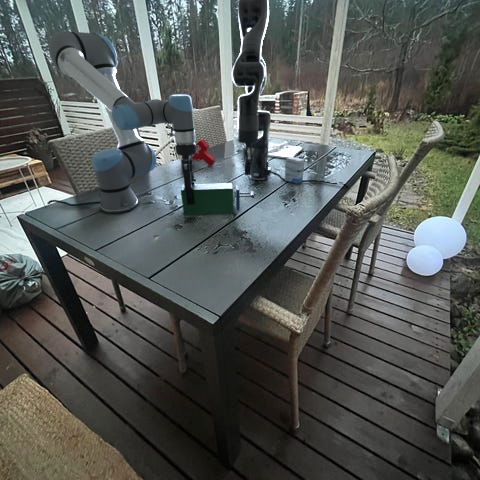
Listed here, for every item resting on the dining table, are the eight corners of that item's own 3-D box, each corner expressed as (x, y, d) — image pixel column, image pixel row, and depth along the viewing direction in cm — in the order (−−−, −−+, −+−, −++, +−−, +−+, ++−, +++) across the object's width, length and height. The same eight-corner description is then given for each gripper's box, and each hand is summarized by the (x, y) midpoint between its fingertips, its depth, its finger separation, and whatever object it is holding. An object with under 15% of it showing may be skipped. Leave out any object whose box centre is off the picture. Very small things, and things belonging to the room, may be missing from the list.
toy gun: (219, 159, 165) (203, 138, 161) (216, 161, 162) (200, 139, 158) (199, 174, 175) (184, 155, 171) (196, 176, 172) (181, 156, 168)
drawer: (253, 205, 117) (253, 185, 112) (254, 210, 113) (254, 189, 108) (194, 207, 116) (191, 186, 111) (193, 212, 112) (190, 191, 107)
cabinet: (232, 207, 118) (232, 182, 112) (233, 213, 113) (232, 188, 107) (185, 208, 117) (182, 184, 111) (183, 215, 112) (180, 190, 106)
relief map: (291, 159, 177) (291, 151, 174) (243, 153, 190) (243, 145, 187) (302, 149, 197) (303, 142, 194) (258, 144, 211) (258, 137, 208)
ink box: (302, 181, 142) (305, 159, 136) (297, 184, 139) (300, 161, 133) (289, 177, 147) (291, 156, 141) (284, 180, 144) (285, 158, 138)
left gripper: (178, 137, 107) (185, 191, 119) (171, 149, 91) (179, 211, 103) (197, 136, 107) (202, 191, 120) (193, 149, 91) (199, 210, 104)
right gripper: (236, 124, 103) (237, 169, 112) (238, 131, 92) (239, 180, 101) (256, 124, 103) (255, 168, 113) (260, 131, 92) (259, 180, 102)
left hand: (191, 200), depth 112 cm, fingers closed on cabinet, 6 cm apart
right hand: (247, 174), depth 107 cm, fingers closed
